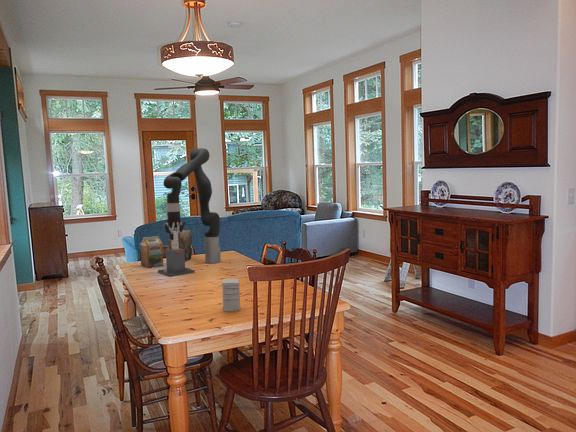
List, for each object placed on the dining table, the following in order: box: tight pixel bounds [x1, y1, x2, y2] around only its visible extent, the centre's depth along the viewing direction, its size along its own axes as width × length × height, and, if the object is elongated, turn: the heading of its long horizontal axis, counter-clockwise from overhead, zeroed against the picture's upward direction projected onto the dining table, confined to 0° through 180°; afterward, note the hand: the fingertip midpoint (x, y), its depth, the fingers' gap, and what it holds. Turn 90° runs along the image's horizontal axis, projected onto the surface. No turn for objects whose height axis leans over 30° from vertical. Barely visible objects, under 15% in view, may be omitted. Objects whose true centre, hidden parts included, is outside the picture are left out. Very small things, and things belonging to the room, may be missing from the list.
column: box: [171, 230, 179, 250], centre depth 285 cm, size 3×3×18 cm
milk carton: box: [139, 235, 164, 269], centre depth 308 cm, size 10×11×19 cm
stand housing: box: [157, 248, 196, 278], centre depth 286 cm, size 16×16×14 cm
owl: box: [178, 229, 193, 262], centre depth 330 cm, size 13×13×20 cm
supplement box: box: [221, 278, 241, 312], centre depth 209 cm, size 7×7×13 cm
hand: (174, 239), depth 285 cm, fingers closed on column, 3 cm apart
